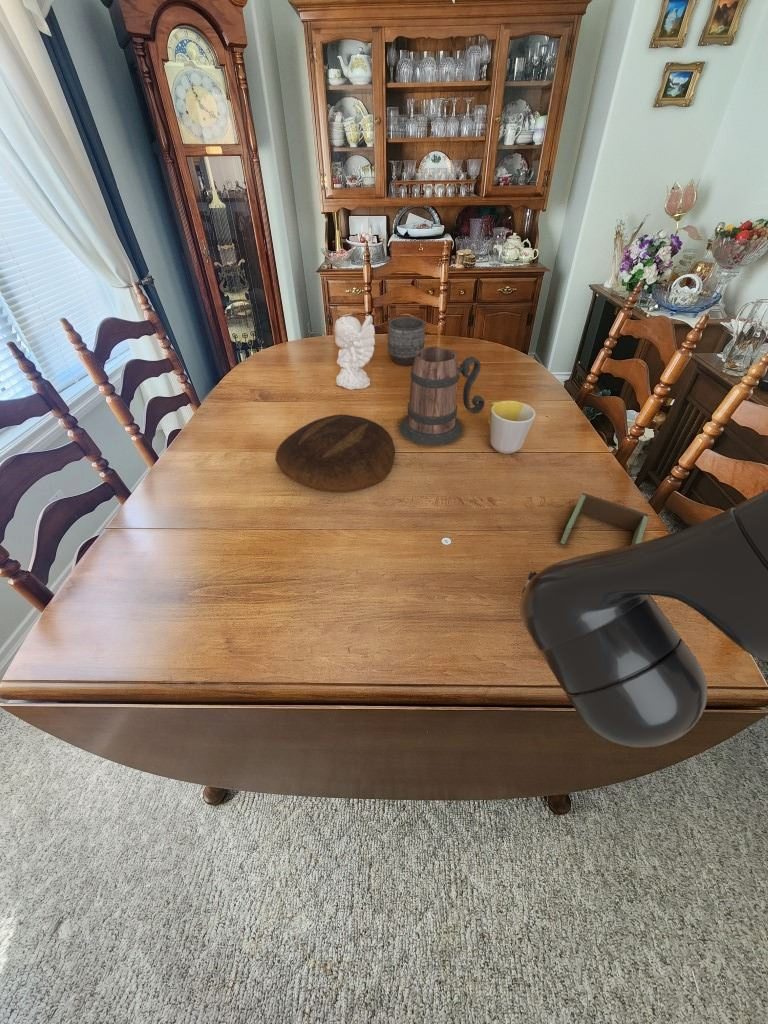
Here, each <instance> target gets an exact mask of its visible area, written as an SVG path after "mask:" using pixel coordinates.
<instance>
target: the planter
mask: <svg viewBox="0 0 768 1024" xmlns="http://www.w3.org/2000/svg"><path fill="white" fill-rule="evenodd" d="M425 335H426V321H425V320H423V319H422V318H419V317H414V316H398V317H395V318H392V319H390V320H388V322H387V351H388V355H389V356H390V358H391V360H392V362H393V363H394V364H396V365H398V366H401V367H410V366H411V367H412V366H413V363H414V359H415V354H416V353H417V352H418V351H419V350H420V349H422V348H425V337H426V336H425Z"/></svg>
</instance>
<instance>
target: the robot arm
mask: <svg viewBox="0 0 768 1024" xmlns="http://www.w3.org/2000/svg"><path fill="white" fill-rule="evenodd" d="M652 596H657V597H664V598H669V599H673V600H677V601H679V602H681V603H683V604H684V605H687V606H688V607H690V608H691V609H693V610H694V611H696V613H698V614H700V615H701V617H703V618H705V619H706V620H707V621H708V622H710V623H711V624H712V625H713V626H714V627H715V628H717V629H718V630H719V631H720V632H721V633H723V635H724V636H726V637H727V638H728V640H730V641H731V642H733V643H734V644H735V645H737V646H738V647H739V648H740V649H742V650H743V651H744V652H746V653H748V654H749V655H751V656H753V657H755V658H756V659H757V660H760V661H763V662H766V663H768V489H765V490H764V491H762V492H760V493H758V494H756V495H754V496H752V497H750V498H748V499H745V500H744V501H742V502H740V503H737V504H736V506H735V507H730V508H728V509H726V510H724V511H722V512H720V513H718V514H716V515H713V516H712V517H709V518H706V519H705V520H702V521H700V522H698V523H696V524H694V525H692V526H689V527H686V528H684V529H681V530H678V531H675V532H672V533H670V534H666V535H662V536H660V537H656V538H652V539H649V540H646V541H641V543H638V544H634V545H631V544H629V545H625V546H621V547H617V548H612V549H607V550H602V551H597V552H591V553H586V554H582V555H577V556H574V557H571V558H567V559H563V560H560V561H558V562H555V563H553V564H550V565H548V566H546V567H545V568H543V569H541V570H540V571H539V572H536V571H530V573H529V574H528V577H527V579H526V581H525V584H524V586H523V589H522V591H521V597H520V601H519V615H520V618H521V621H522V624H523V626H524V628H525V630H526V632H527V633H528V635H529V637H530V638H531V640H532V641H533V643H534V645H535V646H536V648H537V650H538V651H539V653H540V654H541V656H542V657H543V659H544V661H545V663H546V665H547V666H548V667H549V669H550V671H551V672H552V674H553V676H554V677H555V680H556V681H557V683H558V684H559V685H560V687H561V689H562V690H563V692H564V694H565V695H566V697H567V699H568V700H569V702H570V704H571V706H572V707H573V709H574V710H575V712H576V714H577V715H578V716H579V718H580V719H581V720H582V721H583V722H584V724H585V725H586V726H587V727H588V728H589V729H590V730H592V732H593V733H594V732H595V733H596V735H598V736H599V737H601V738H604V739H605V740H608V741H609V742H611V743H614V744H617V745H621V746H625V747H631V748H653V747H659V746H663V745H667V744H670V743H672V742H674V741H676V740H679V739H680V738H681V737H683V736H684V735H686V734H687V733H688V732H689V731H690V730H692V729H693V728H694V727H695V726H696V724H697V723H698V722H699V720H700V719H701V718H702V716H703V713H704V711H705V709H706V706H707V702H708V681H707V678H706V675H705V673H704V670H703V668H702V666H701V665H700V663H699V660H697V657H696V656H695V655H694V653H693V652H692V651H691V649H690V648H689V646H688V645H687V644H686V643H685V641H684V640H683V639H682V637H681V636H680V634H679V633H678V632H677V630H676V629H675V628H674V626H673V625H672V623H671V622H670V620H669V619H668V617H667V616H666V615H665V614H664V612H663V611H662V610H661V608H660V607H659V605H658V604H657V602H656V601H655V599H654V598H653V597H652Z"/></svg>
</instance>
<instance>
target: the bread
mask: <svg viewBox="0 0 768 1024" xmlns="http://www.w3.org/2000/svg"><path fill="white" fill-rule="evenodd" d="M395 455H396V448H395V444H394V440H393V438H392V436H391V435H390V433H389V432H388V431H387V430H386V429H385V428H384V427H383V426H381V425H380V424H379V423H377V422H375V421H373V420H370V419H368V418H365V417H361V416H356V415H351V414H333V415H329V416H325V417H322V418H318V419H316V420H314V421H311V422H309V423H307V424H305V425H303V426H302V427H300V428H299V429H297V430H296V431H294V432H293V433H291V434H290V435H289V436H287V437H286V438H285V439H284V440H283V441H282V442H281V444H280V445H279V446H278V448H277V449H276V453H275V462H276V465H277V466H278V467H279V469H280V471H281V472H282V473H283V474H284V475H285V476H286V477H287V478H290V479H291V480H293V481H295V482H296V483H298V484H301V485H302V486H306V487H308V488H311V489H313V490H318V491H325V492H332V493H333V492H337V493H339V492H340V493H346V492H351V491H358V490H362V489H365V488H369V487H371V486H372V487H373V486H375V485H377V484H379V483H380V482H382V481H383V480H385V479H386V478H387V477H388V475H389V474H390V473H391V471H392V468H393V465H394V461H395Z"/></svg>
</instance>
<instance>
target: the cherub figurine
mask: <svg viewBox="0 0 768 1024" xmlns="http://www.w3.org/2000/svg"><path fill="white" fill-rule="evenodd" d="M373 320H374V318H373V316H372V315H371V314H369V315H367V317H366V318H365V319H364V321H363V322H362V325H361V322H360V321H359V318H356V317H355V316H352V315H346V316H344V315H343V316H341V317H340V318H338V319H336V321H335V323H334V334H335V335H334V336H335V337H334V343H335V345H336V346H337V347H338V348H339V349H338V357H337V359H336V364H337V365H339V367H340V368H341V369H340V372H339V374H337V375H336V377H335V383H336V385H337V386H339V387H342V388H344V389H347V390H351V391H352V390H359V391H360V390H363V389H364V390H365V389H366V388H368V387H370V386H371V383H370V382H371V379H370V378H369V377H368V374H367V372H366V371H365V370H364V369H363V368H364V367H366V366H367V365H366V364H369V363H370V361H371V359H372V358H373V355H374V353H375V345H376V339H375V335H376V330H375V325H374V324H373Z"/></svg>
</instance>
